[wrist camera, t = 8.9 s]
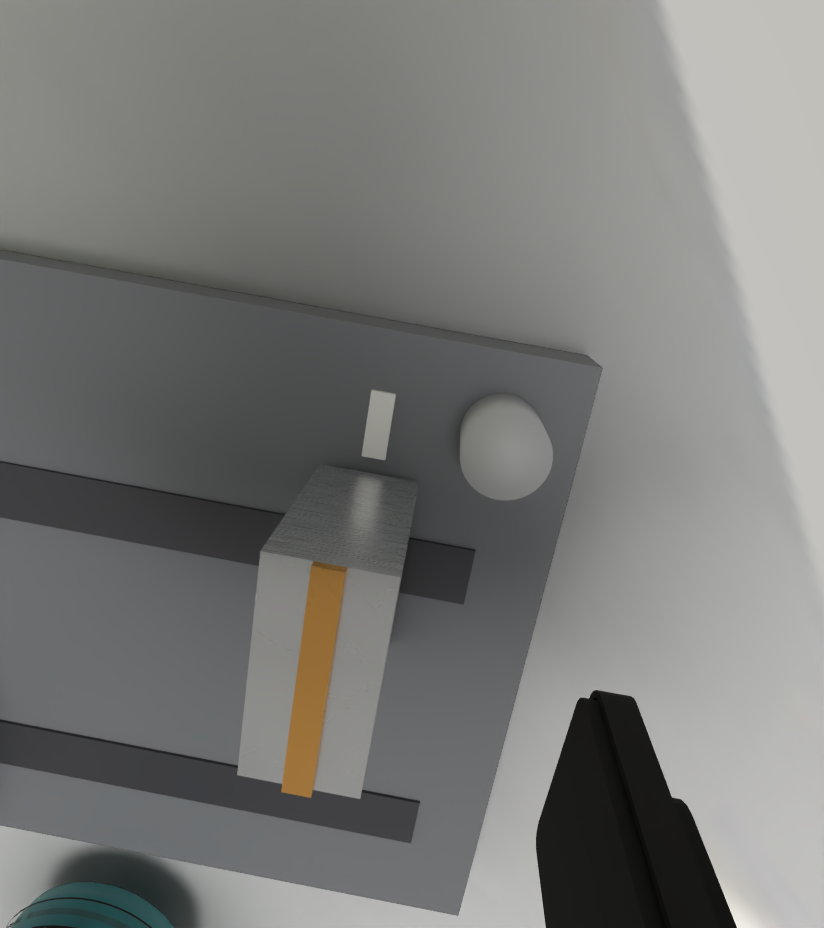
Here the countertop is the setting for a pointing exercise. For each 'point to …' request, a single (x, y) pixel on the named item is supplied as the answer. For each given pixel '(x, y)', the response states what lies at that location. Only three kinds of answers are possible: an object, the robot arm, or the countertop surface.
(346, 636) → the fader tab
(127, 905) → the beverage bottle
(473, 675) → the console
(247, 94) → the countertop surface
